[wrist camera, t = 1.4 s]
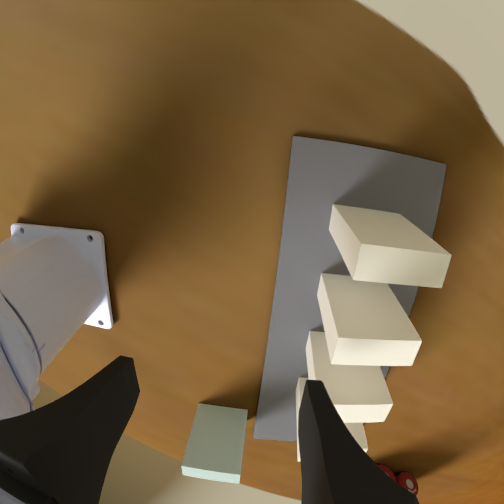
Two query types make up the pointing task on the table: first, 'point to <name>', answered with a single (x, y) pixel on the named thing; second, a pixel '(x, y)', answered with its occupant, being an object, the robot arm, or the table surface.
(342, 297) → the tile
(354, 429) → the tile
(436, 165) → the runner mat
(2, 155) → the table surface
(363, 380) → the tile
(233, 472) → the pale green tile
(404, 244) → the tile
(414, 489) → the toy fire truck
